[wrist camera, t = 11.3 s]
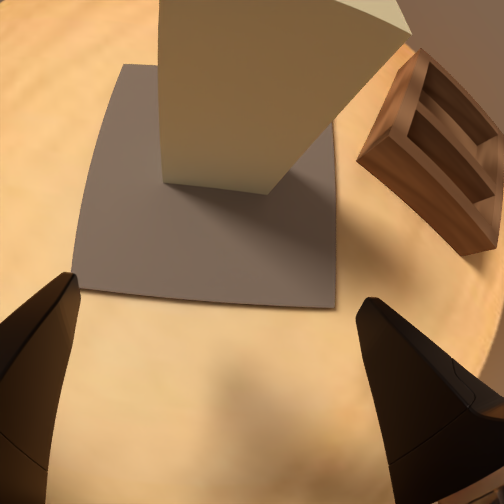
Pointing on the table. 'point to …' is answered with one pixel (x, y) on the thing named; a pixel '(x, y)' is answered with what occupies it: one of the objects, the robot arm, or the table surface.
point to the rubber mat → (200, 219)
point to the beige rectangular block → (261, 81)
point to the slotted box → (440, 155)
